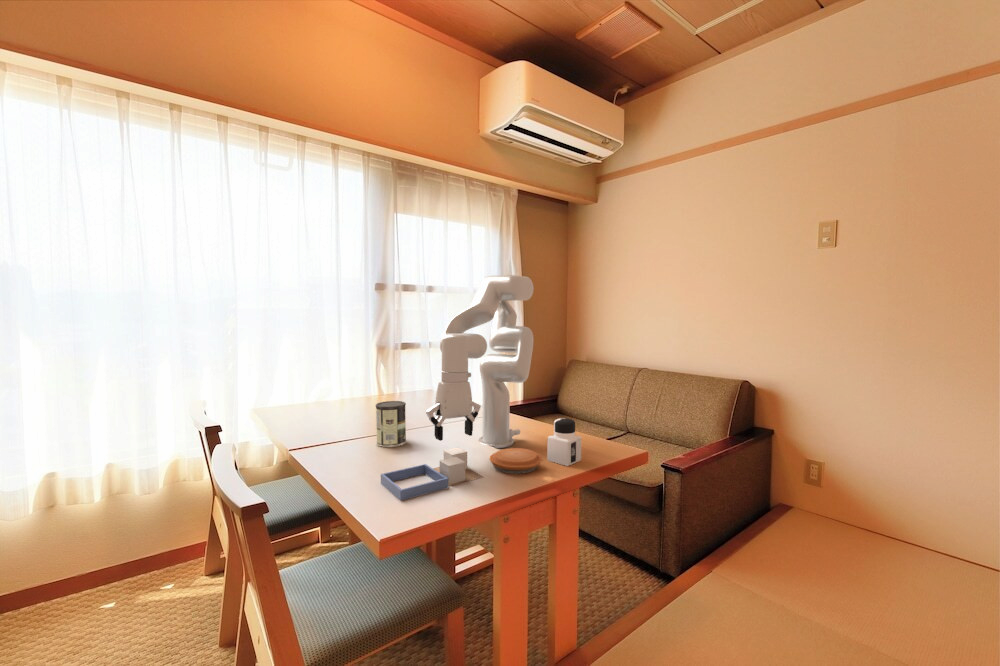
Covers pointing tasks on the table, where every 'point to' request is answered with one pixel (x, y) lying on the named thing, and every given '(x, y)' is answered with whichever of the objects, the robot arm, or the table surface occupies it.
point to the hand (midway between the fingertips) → (454, 437)
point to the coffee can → (390, 423)
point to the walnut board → (469, 475)
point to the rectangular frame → (417, 490)
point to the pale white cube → (453, 469)
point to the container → (564, 443)
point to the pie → (515, 460)
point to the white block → (456, 454)
